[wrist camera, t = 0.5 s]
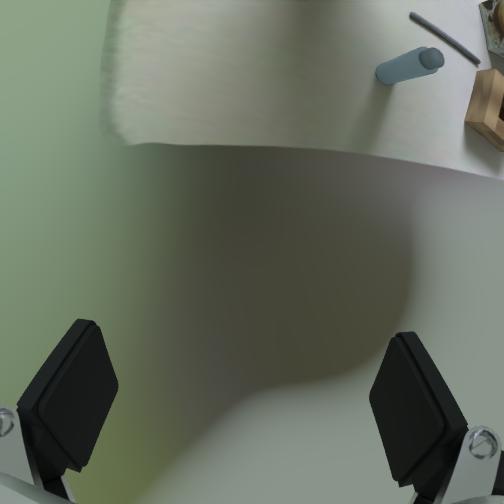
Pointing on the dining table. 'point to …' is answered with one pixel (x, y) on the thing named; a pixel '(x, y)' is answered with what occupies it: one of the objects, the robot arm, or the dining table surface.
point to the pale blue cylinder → (410, 65)
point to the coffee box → (494, 25)
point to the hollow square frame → (488, 106)
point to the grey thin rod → (445, 36)
